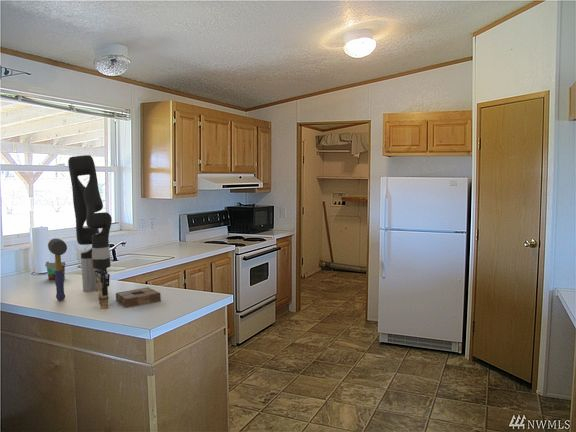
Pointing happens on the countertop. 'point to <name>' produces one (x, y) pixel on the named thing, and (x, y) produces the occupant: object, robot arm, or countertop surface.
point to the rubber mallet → (58, 265)
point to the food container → (54, 269)
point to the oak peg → (102, 297)
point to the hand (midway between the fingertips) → (103, 294)
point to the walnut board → (138, 297)
